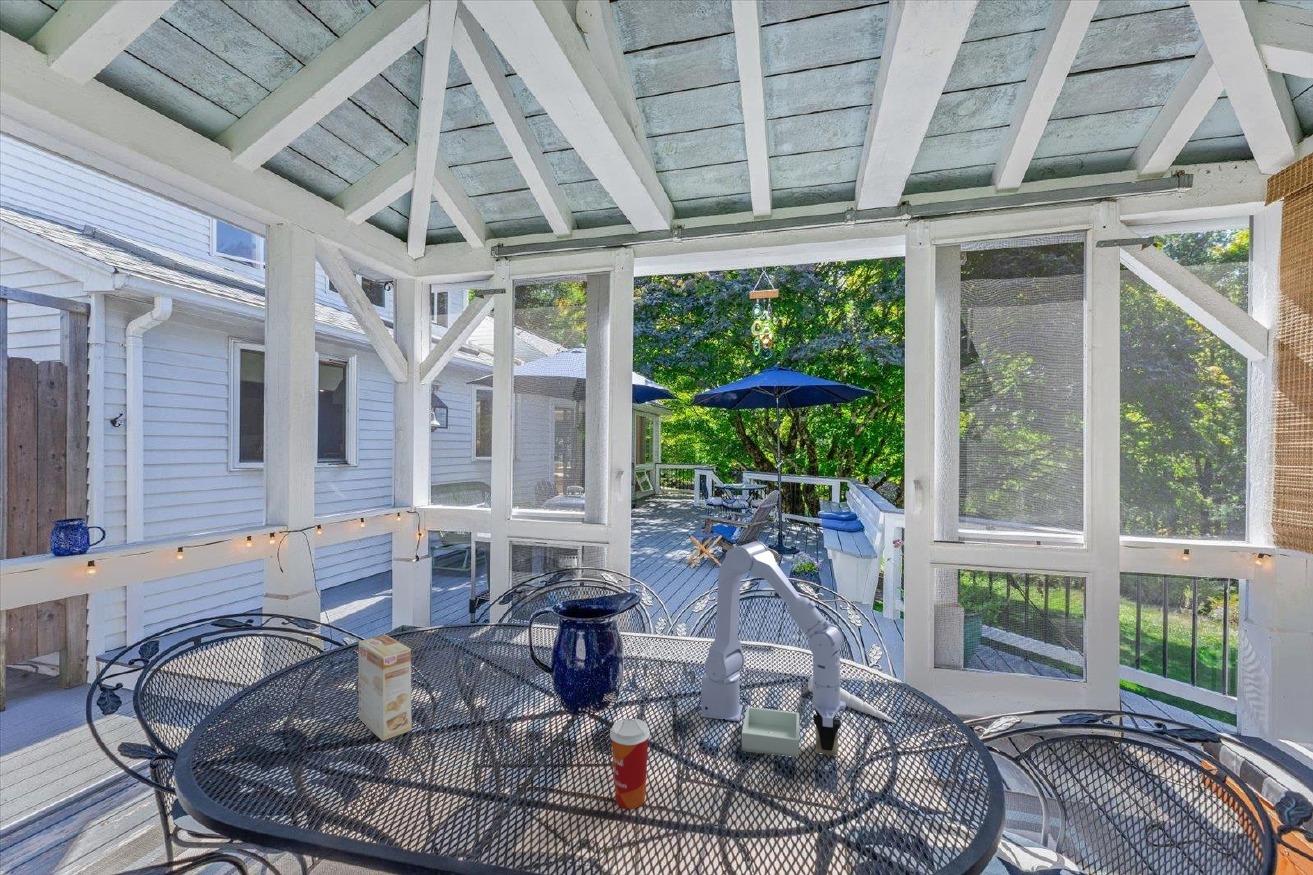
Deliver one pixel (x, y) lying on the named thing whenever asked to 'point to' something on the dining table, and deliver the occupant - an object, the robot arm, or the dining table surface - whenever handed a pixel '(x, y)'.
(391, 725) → the coffeecake box
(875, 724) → the dining table surface
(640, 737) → the paper cup
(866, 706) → the unicorn horn
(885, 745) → the dining table surface
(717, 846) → the dining table surface
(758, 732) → the bin
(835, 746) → the birch block
